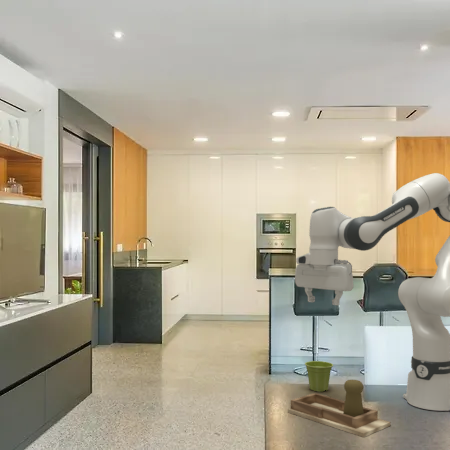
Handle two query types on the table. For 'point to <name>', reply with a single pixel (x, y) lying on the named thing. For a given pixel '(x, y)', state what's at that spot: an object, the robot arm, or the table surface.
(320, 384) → the plant pot
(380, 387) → the table surface
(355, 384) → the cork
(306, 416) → the wooden tray
